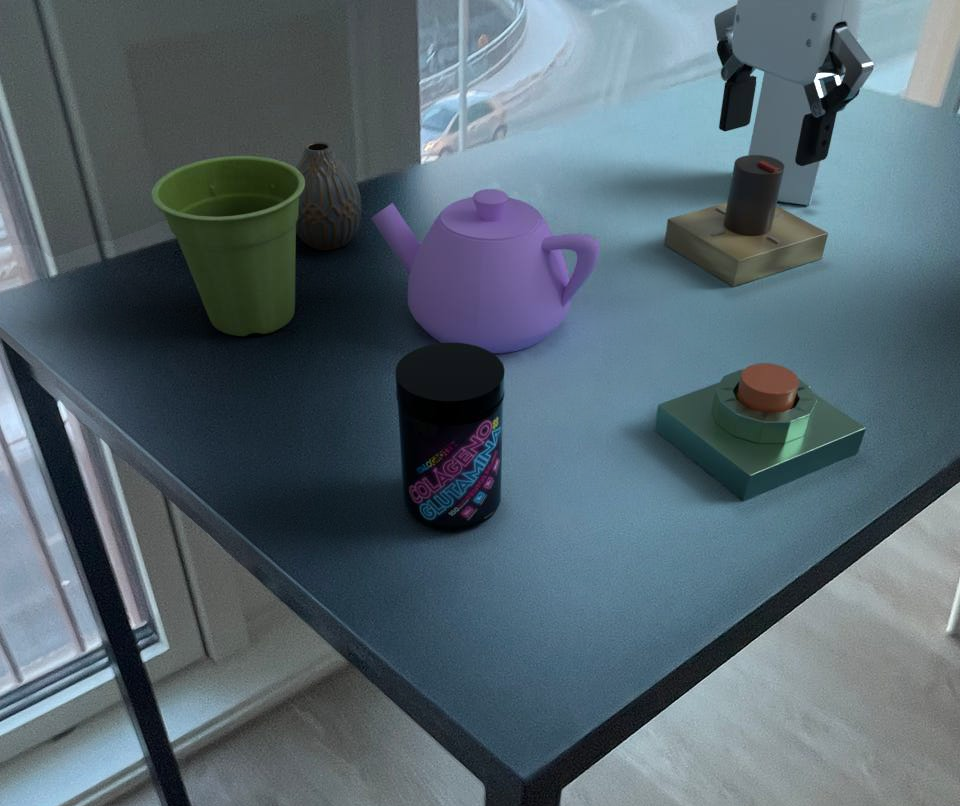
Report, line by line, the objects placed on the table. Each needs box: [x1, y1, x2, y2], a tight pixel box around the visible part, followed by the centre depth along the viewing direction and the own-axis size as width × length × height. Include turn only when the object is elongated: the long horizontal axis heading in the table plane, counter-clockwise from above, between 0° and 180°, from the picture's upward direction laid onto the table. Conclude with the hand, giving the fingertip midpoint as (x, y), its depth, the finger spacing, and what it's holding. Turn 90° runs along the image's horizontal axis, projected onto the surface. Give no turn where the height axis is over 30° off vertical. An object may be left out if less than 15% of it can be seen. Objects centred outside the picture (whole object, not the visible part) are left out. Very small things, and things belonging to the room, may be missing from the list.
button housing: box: [654, 368, 867, 502], centre depth 73 cm, size 11×10×4 cm
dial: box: [724, 155, 785, 235], centre depth 92 cm, size 4×4×6 cm
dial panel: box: [663, 202, 829, 288], centre depth 95 cm, size 11×10×3 cm
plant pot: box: [150, 155, 305, 337], centre depth 83 cm, size 12×12×11 cm
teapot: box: [370, 188, 601, 354], centre depth 83 cm, size 14×20×11 cm
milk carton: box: [748, 72, 843, 206], centre depth 99 cm, size 7×7×19 cm
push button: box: [737, 362, 800, 413], centre depth 71 cm, size 4×4×2 cm
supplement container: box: [394, 342, 506, 533], centre depth 65 cm, size 7×7×10 cm
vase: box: [294, 140, 362, 251], centre depth 94 cm, size 7×7×9 cm
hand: (771, 144), depth 89 cm, fingers open, 9 cm apart
